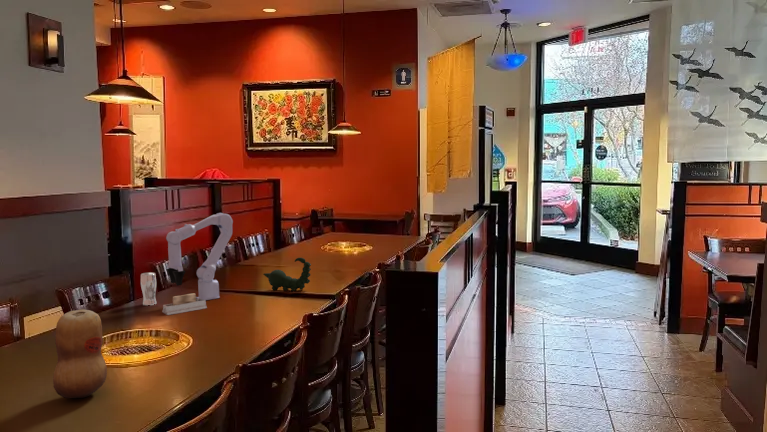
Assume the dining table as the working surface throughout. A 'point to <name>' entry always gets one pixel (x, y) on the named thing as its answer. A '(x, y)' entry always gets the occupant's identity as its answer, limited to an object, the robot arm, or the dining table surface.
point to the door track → (184, 307)
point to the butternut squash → (79, 354)
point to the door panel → (184, 299)
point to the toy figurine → (289, 278)
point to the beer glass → (148, 288)
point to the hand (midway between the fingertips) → (176, 283)
